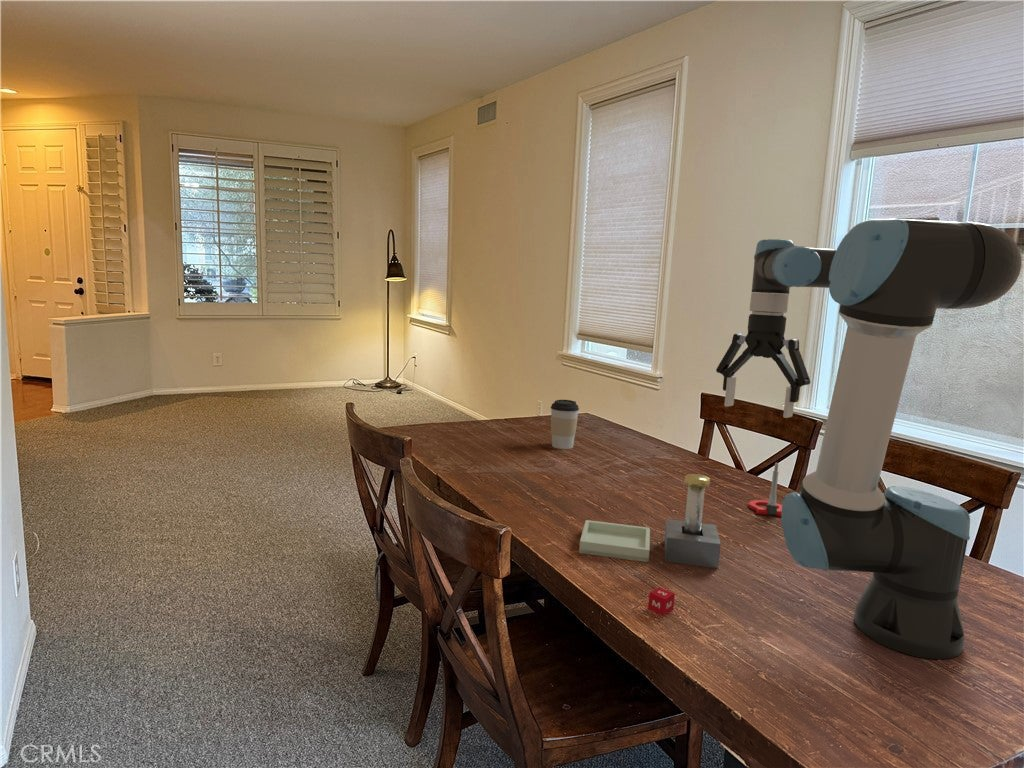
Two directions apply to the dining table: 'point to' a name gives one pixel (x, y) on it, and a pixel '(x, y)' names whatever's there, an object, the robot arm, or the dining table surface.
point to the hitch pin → (695, 502)
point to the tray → (615, 540)
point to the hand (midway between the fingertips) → (757, 411)
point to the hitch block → (691, 545)
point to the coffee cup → (563, 423)
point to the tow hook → (771, 504)
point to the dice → (661, 601)
